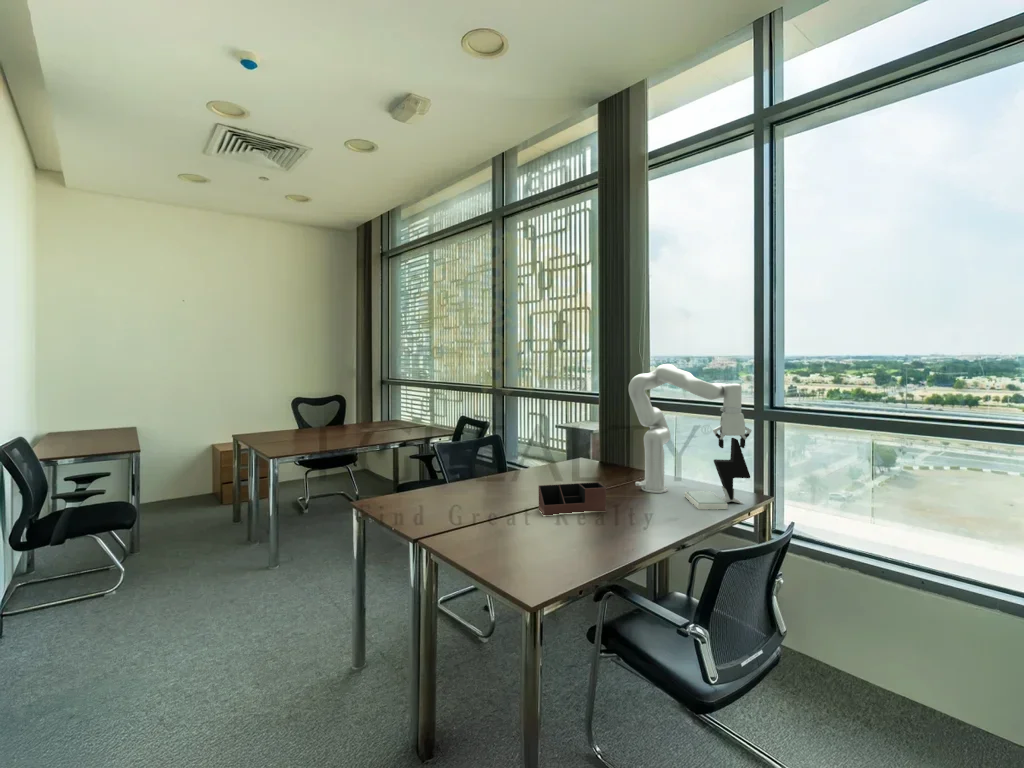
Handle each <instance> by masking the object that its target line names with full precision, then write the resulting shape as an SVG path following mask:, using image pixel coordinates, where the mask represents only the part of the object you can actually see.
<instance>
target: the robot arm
mask: <svg viewBox="0 0 1024 768" xmlns="http://www.w3.org/2000/svg"><path fill="white" fill-rule="evenodd" d="M664 384H669V385H672V386H675V387H677V388H679V389H683V390H684V391H687V392H688V393H690V394H693V395H695V396H698V397H700V398H702V399H705V400H706V399H707V400H709V401H710V400H711V401H712V400H713V401H715V400H719V399H723V402H722V403H723V406H722V407H720V412H722V413H721V416H720V422H719V425H718V426H717V427H715V428H713V429H712V432H713V434H714V436H715V437H716V438H717V439H718V447H719V448H721V449H724V448H725V447H724V446H725V445H724V441H725V440H724V437H725V436H730V437H732V436H739V437H740V439H739V445H740V448H742V449H745V446H746V440H747V439H748V437H749V436H750V434H751V433H752V432H753V431H752V429H751V428H749V427H747V426H746V425H745V424H746V423H745V416H744V413H742V393H743V392H742V385H741V384H739V383H721V382H708V381H704V380H703V379H700V378H697V377H695V376H694V375H693V374H692V373H691V372H689V371H686V370H683V369H680V368H678V367H676V365H674V364H671V363H664V364H660V365H658V366H657V367H656V369H654V370H652V371H650V372H648V373H645V372H644V373H643V372H642V373H639V374H637V375H635V376H634V377H632V379H630V382H629V384H628V394H629V397H630V400H631V402H632V405H633V408H634V411H635V414H636V416H637V419H638V421H639V423H640V425H641V426H643V427H646V428H649V429H648V430H647V431H646V432H645V433H644V434H643V448H644V479H643V480H641V481H635V486H638V487H641V490H642V491H644V492H646V493H652V494H663V493H666V492H668V487H666V486H665V449H664V445H665V444H667V443H668V442H669V441H670V440H671V431H670V428H669V425H668V423H667V421H666V417H665V415H664V413H663V412H662V410H661V409H660V408H658V407H656V406H652V403H651V400H650V397H649V396H648V394H647V392H646V390H653V389H656V388H658V387H660V386H663V385H664ZM718 432H719V433H718Z"/></svg>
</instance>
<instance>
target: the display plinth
mask: <svg viewBox="0 0 1024 768" xmlns="http://www.w3.org/2000/svg"><path fill="white" fill-rule="evenodd" d="M685 497H686V498H687V499H688V500H689V501H688V500H687V499H686V500H687V501H688V502H689V503H690V504H691V505H693V504H694V505H695V506H696V507H697V508H698V509H697V508H696V507H695V506H694V505H693V506H694V507H695V508H696V509H697V510H708V509H717V510H718V509H729V507H728V505H729V504H728V502H727V503H726V502H725V501H724V500H722V499H721V498H722V497H720V496H718V495H717V494H716V493H715V492H713V491H710V490H705V491H704V490H703V491H700V490H697V491H696V490H693V491H692V490H691V491H690V490H688V491H685V492H684V498H685ZM718 511H719V510H718Z"/></svg>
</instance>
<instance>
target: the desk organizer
mask: <svg viewBox="0 0 1024 768" xmlns="http://www.w3.org/2000/svg"><path fill="white" fill-rule="evenodd" d="M538 509H539V510H540V511H541V512H542V514H543V515H553V514H559V513H572V512H584V511H607V487H606V486H605V485H603V484H602V483H601V482H599V481H595V482H578V483H577V482H576V483H563V484H561V483H560V484H559V483H558V484H543V485H542V484H541V485H538Z"/></svg>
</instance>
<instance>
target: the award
mask: <svg viewBox="0 0 1024 768" xmlns="http://www.w3.org/2000/svg"><path fill="white" fill-rule="evenodd" d="M730 440H731V441H730V459H717V458H716V459H713V463H714V466H715V469H716V472H717V474H718V478H719V479H720V482H721V488H722V491H723V496H722V497H720V498H721V499H722V500H724V501H725V502H726V503H727V504H728V503H730V502H734V503H738V504H739V505H740V504H741V505H744V504H743V501H741V500H740V499H739V498H738V499H737V498H736V497H735V489H734V479H750V478H751V473H750V471H749V468H748V466H747V463H746V459H745V456H744V453H743V451H742V449H741V448H742V447H740V441H739V439H737V438H735V437H731V438H730Z"/></svg>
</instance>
